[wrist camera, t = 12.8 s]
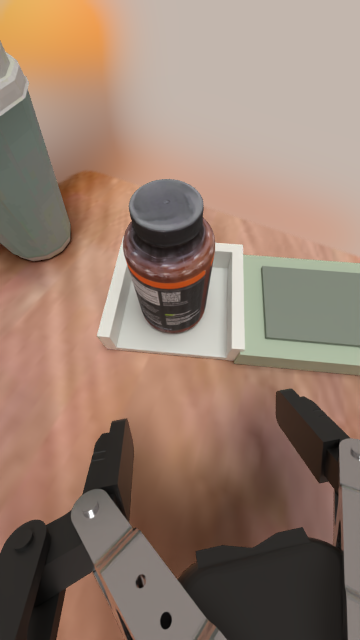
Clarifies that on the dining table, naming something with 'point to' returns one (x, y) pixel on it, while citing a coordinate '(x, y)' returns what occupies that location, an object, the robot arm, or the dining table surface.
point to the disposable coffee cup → (26, 174)
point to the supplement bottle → (169, 254)
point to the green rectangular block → (301, 314)
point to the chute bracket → (200, 341)
